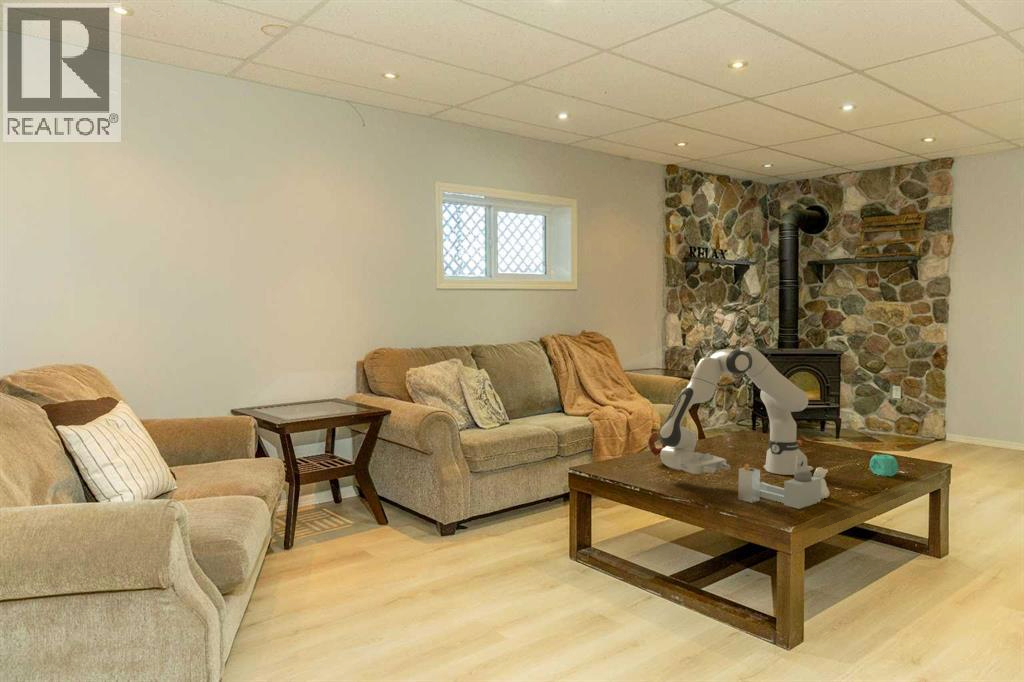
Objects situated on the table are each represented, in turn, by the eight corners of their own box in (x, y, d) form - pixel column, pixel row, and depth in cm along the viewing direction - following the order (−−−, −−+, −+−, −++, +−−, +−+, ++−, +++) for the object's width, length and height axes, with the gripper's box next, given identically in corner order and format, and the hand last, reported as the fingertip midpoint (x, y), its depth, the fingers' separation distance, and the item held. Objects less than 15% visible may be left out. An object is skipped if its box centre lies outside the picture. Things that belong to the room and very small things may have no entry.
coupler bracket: (762, 487, 279) (763, 458, 278) (820, 501, 259) (821, 470, 258) (740, 493, 270) (741, 464, 270) (798, 508, 250) (799, 476, 250)
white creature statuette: (816, 492, 272) (817, 462, 271) (836, 497, 264) (836, 467, 263) (800, 495, 267) (801, 465, 266) (820, 501, 259) (820, 470, 259)
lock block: (746, 497, 266) (746, 462, 265) (759, 500, 261) (760, 465, 260) (738, 499, 263) (738, 464, 262) (751, 503, 258) (752, 467, 257)
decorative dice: (885, 477, 294) (885, 459, 293) (869, 473, 301) (869, 455, 301) (898, 475, 297) (898, 457, 296) (882, 471, 304) (882, 453, 304)
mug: (678, 461, 325) (678, 430, 325) (681, 465, 317) (681, 434, 317) (647, 461, 327) (647, 430, 326) (649, 465, 319) (649, 433, 318)
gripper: (677, 458, 276) (705, 464, 265) (709, 452, 288) (737, 458, 277) (677, 473, 276) (705, 480, 265) (709, 466, 288) (737, 473, 277)
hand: (721, 469), depth 271 cm, fingers open, 8 cm apart
